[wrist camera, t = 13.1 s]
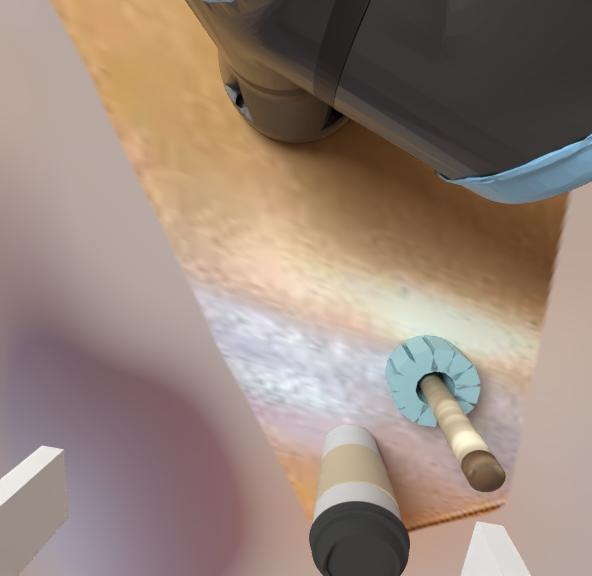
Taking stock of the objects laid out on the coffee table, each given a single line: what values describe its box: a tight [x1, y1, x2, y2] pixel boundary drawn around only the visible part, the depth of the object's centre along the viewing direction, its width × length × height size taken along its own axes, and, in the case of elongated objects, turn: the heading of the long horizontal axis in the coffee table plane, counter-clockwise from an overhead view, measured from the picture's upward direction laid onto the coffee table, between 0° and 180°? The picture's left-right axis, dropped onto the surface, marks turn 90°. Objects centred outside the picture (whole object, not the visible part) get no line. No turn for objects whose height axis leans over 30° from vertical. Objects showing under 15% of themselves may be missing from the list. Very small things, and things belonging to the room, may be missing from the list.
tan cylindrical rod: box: [417, 371, 505, 492], centre depth 31 cm, size 2×2×16 cm
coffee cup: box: [309, 424, 410, 576], centre depth 35 cm, size 9×9×15 cm
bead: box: [385, 335, 481, 427], centre depth 37 cm, size 9×9×4 cm
